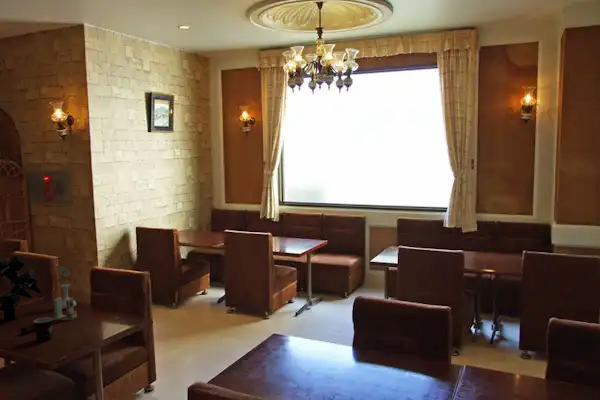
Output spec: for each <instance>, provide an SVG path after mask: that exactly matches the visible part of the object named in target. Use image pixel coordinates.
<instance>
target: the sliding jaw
mask: <svg viewBox="0 0 600 400" xmlns="http://www.w3.org/2000/svg"><path fill="white" fill-rule="evenodd" d="M53 307H54V316H55V318H58V317H60V316H61V315H63V309H62V297H61V296H59V297H57V298H55V299H53Z"/></svg>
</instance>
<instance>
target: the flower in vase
mask: <svg viewBox="0 0 600 400" xmlns="http://www.w3.org/2000/svg"><path fill="white" fill-rule="evenodd" d="M57 272H58V274H59V275H61V276H60V277H61V279H60V278H58V279H57V282H58V283H62V284H61V285H60V287H61V289H62V290H63V297H62V298H61V300H62V310H66V300H68V299H69V298H70V297H69V288H70V286H71V284H68V283H67V282H68V280H66V281H63V277H69V276H70V275H71V271H70V269H69V268H67V267H65V266H58V268H57ZM66 283H67V284H66ZM76 306H77V302H76V301H75V300H74V299H73V308H74V307H76Z"/></svg>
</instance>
